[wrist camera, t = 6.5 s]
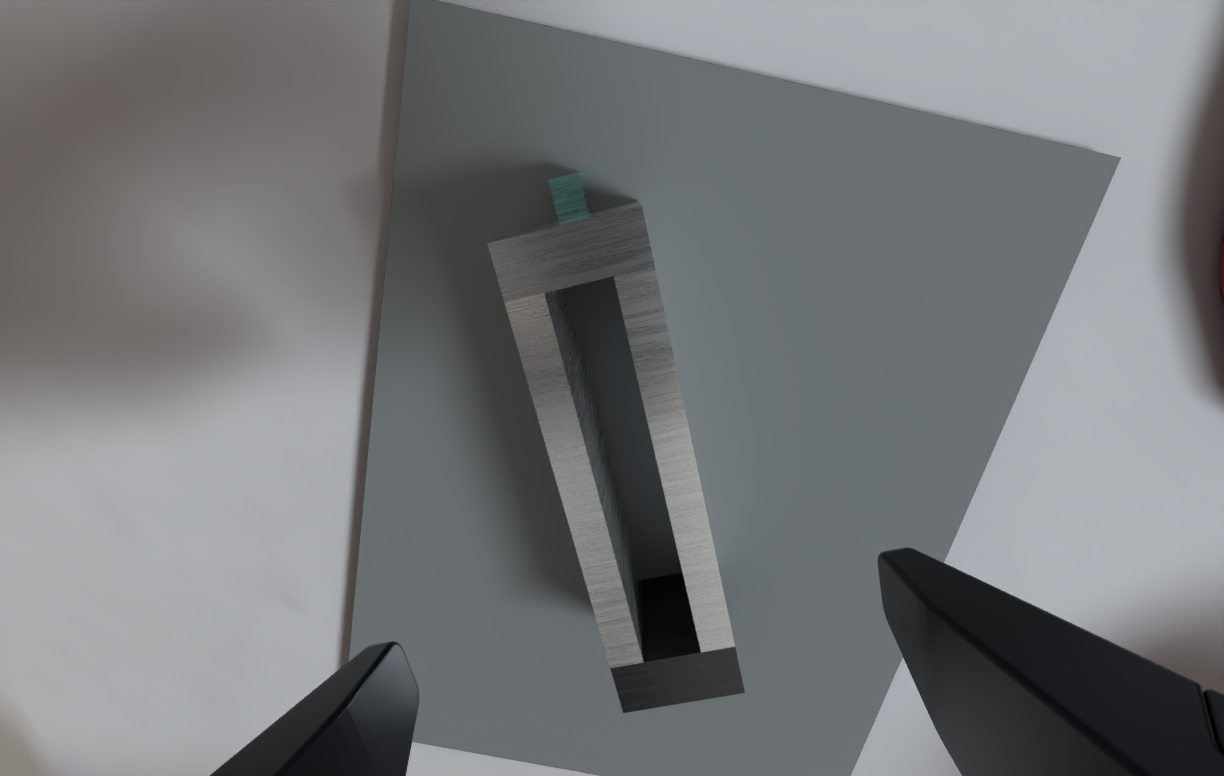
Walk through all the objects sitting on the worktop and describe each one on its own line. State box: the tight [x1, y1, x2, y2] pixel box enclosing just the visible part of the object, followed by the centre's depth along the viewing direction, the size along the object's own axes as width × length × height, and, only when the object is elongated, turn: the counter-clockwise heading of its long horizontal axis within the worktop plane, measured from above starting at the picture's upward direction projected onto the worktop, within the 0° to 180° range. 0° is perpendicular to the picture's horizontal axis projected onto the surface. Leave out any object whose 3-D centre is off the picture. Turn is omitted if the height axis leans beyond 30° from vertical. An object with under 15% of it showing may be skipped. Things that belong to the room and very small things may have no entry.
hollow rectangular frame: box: [487, 172, 745, 713], centre depth 13 cm, size 3×3×11 cm
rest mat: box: [349, 0, 1121, 776], centre depth 15 cm, size 18×14×1 cm
